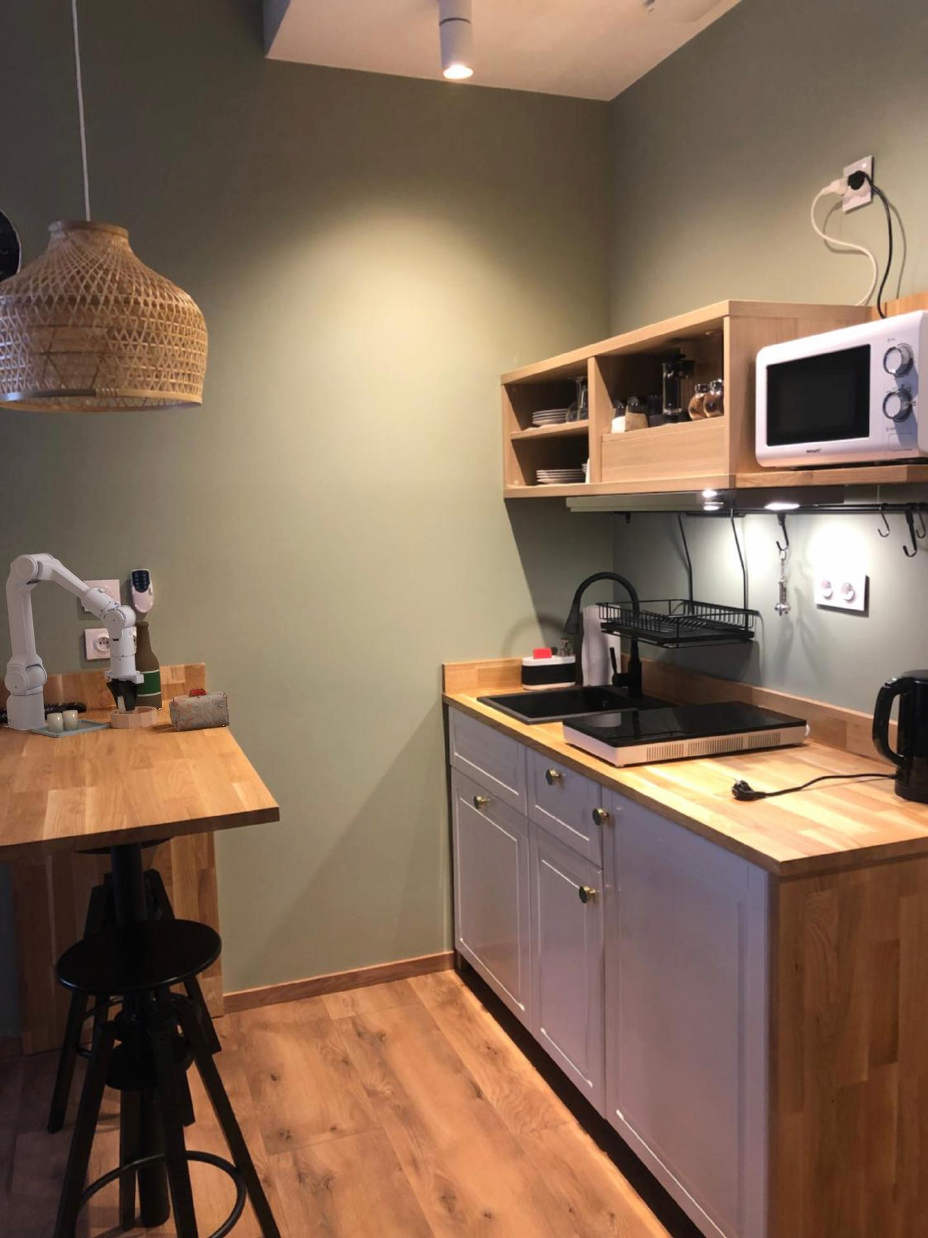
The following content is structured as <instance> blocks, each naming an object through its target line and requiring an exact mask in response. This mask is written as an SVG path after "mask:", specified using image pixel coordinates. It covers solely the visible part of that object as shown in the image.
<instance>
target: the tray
mask: <svg viewBox="0 0 928 1238" xmlns="http://www.w3.org/2000/svg"><path fill="white" fill-rule="evenodd" d="M78 726H79V729H77V730H73V731H64V724H63V732H62V733H58V734H56V733H52V732H48V726H44V727H38V728H33V729H30V732H31V733H34V734H39V735H41V736H42V735H43V736H48V737H52V738H55V739H56V738H57V739H60V738H64V737H70V736H74V735H79V734H84V733H89V732H94V731H95V732H96V731H100V730H105V729H109V728H112V727H111V723H105V722H101V721H96V720H91V719H85V718H81V719H78Z"/></svg>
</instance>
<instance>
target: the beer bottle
mask: <svg viewBox="0 0 928 1238" xmlns="http://www.w3.org/2000/svg"><path fill="white" fill-rule="evenodd" d="M134 626H135V628H136V629H135V630H136V633H135V635H136V637H135V638H136V639H135V640H136V644H135V645H136V646H135V647H136V648H135V651H134V656H135V670H136V671H139V672H140V674H142V675H143V677H144V683H142V686H141V688H140V690H139V693H138V696H137V700H136V706H135V707H155V708H156V709H157V710H158V709H159V708H163V700H162V699H163V697H162V685H161V683H162V681H161V672H160V671H161V670H160V663H159V660H158V658H157V656H156V655H155V654H154V652H153V650H152V647H151V639H150V631H149V626H150V624H149V622H148V621H145V620H144V621H135V624H134ZM158 711H159V710H158Z"/></svg>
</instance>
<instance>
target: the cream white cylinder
mask: <svg viewBox="0 0 928 1238" xmlns="http://www.w3.org/2000/svg"><path fill="white" fill-rule="evenodd" d="M118 711H119V714H133V710H132V711H126V709H125V705H124V699H123V696H119V697H118Z"/></svg>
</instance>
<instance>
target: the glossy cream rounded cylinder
mask: <svg viewBox="0 0 928 1238" xmlns="http://www.w3.org/2000/svg"><path fill="white" fill-rule="evenodd" d="M78 715H79V713H78V710H77V709H70V710H69V709H68V710H64V711H62V720H63V724H64V731H73V730H77V729H79V726H78V720H79V716H78Z"/></svg>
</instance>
